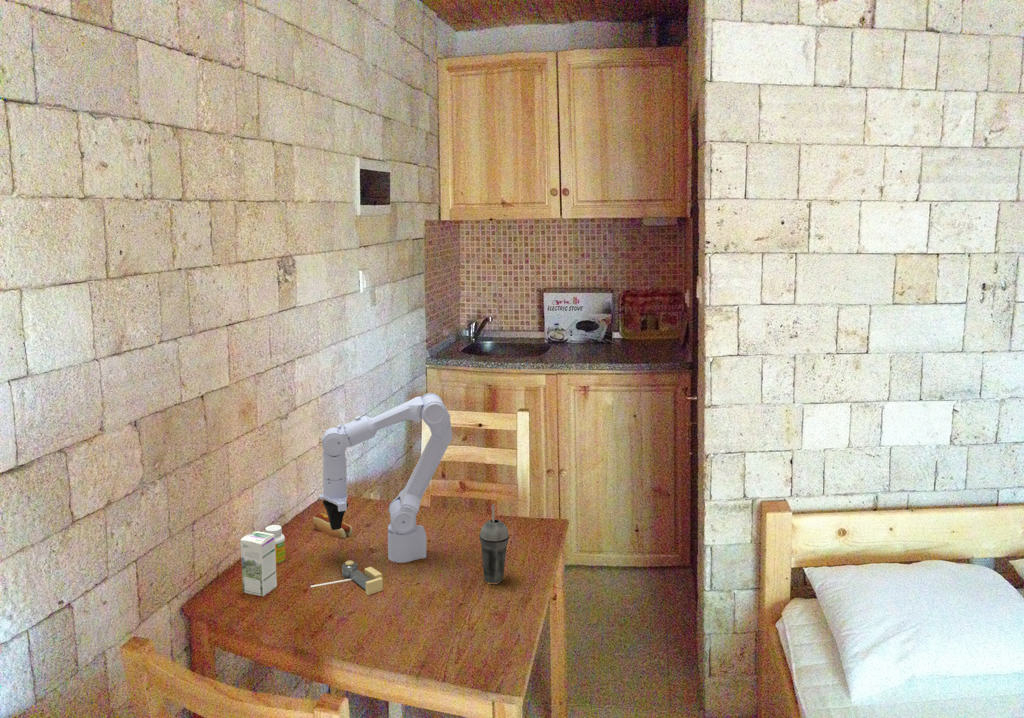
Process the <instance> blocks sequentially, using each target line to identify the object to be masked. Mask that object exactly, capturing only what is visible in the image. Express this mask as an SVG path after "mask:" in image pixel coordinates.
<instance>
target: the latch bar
mask: <svg viewBox="0 0 1024 718" xmlns="http://www.w3.org/2000/svg"><path fill="white" fill-rule="evenodd" d="M341 573H342V574H341V576H342V577H343V578H344V579H345V578H346V579H353V580H352V581H353V582H354V583H356V584H358V585H359V586H360V587H361V588H363V589H364V590H365V591H366V582H367V581H370V580H371V579H370V578H368V577H367V576H366V575H364V572H362V571H360V570H359V569H358V563H357V562H355V561H354V565H352V566H346V565H345V562H343V563H342V564H341Z"/></svg>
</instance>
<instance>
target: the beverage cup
mask: <svg viewBox="0 0 1024 718" xmlns="http://www.w3.org/2000/svg"><path fill="white" fill-rule="evenodd" d="M491 514H492V515H491V517H492V518H491V519H489V520H488V521H486V522H485V523H484V524H483V525H482V526H481V528H480V532H479V540H480V545H481V555H482V557H481V559H482V569H483V581H484V580H485V581H486V582H489V583H499V582H501V581H502V580H503V579H504V573H505V564H506V556H507V548H508V544H509V539H510V534H509V528H508V527H507V525H506V524H505V523H504V522H503V521H501V520H499V519H495V504H491ZM485 581H484V582H485ZM502 582H503V581H502Z"/></svg>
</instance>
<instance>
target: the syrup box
mask: <svg viewBox="0 0 1024 718" xmlns="http://www.w3.org/2000/svg"><path fill="white" fill-rule="evenodd" d="M240 557H241V559H240V560H241V577H242V592H243V593H245V594H249V595H255V596H258V597H265V596H266V595H267V594H268V593H270V592H271V591H273V590H274V589H276V588H277V586H278V583H277V581H278V580H277V564H276V554H275V535H274V534H270V533H265V531H257V530H253V531H252V532H249V533H248V534H246V535H245V536H243V537H241V538H240Z"/></svg>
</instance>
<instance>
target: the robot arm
mask: <svg viewBox="0 0 1024 718" xmlns="http://www.w3.org/2000/svg"><path fill="white" fill-rule="evenodd" d="M421 419H422V420H423V422H424V423H425V424H426V426H427V427H428V428H429V430H430V433H431V434H430V437H429V438H428V441H427V443H426V445H425V447H424V449H423V451H422V453H421V455H420V456H419V459H418V461H417V463H416V464H415V466H414V469H412V470H413V471H412V473H411V475H410V477H409V479H408V481H407V482H406V484H405V486H404V488H403V489H402V490H401V491H400V492H399V494H398V495H397V497H396V498H394V499H393V500H391V502H390V503H389V506H388V514H389V516H390V518H389V519H390V523H388V526H387V554H388V555H387V558H388V560H389V561H390V562H394V563H398V564H399V563H401V564H405V563H409V562H412V561H416V560H417V561H418V560H420V559H421V560H422V559H426V558H427V534H426V530H425V526H423V525H421V524H420V525H419V524H417V515H418V513H419V510H420V506H421V502H422V499H423V496H424V494H425V492H426V491H427V488H428V487H429V484H430V482H431V480H432V479H433V476H434V474H435V473H436V471H437V469H438V467H439V464H440V463H441V461H442V460H443V459H442V458H443V457H444V455H445V453H446V451H447V449H448V447H449V445H450V443H451V441H452V438H453V430H452V424H451V414H450V412H449V411H448V409H447V407H446V405H445V403H444V401H443V399H442V397H441V396H440V395H439V394H437V393H434V392H428V393H425V394H423V395H420V396H416V397H414V398H412V399H410V400H408V401H406V402H404V403H403V402H402V403H401V404H399V405H397V406H395V407H393V408H390V409H389V410H387V411H384V412H382V413H381V414H379V415H376V416H375V417H370V416H367V415H364V416H361V414H359V415H357V416H356V417H355V419H354V420H352V421H350V422H347V423H345V424H341V423H340V424H338V425H336V426H337V427H330V428H328V429H327V430H325V431H324V433H323V435H322V437H321V446H322V447H321V448H322V449H323V451H322V457H323V458H322V481H323V482H322V484H323V485H322V487H323V491H322V493H321V494H318V499H319V500H321V501H322V504H323V506H324V508H325V510H326V513H327V516H328V518H329V522H330V526H331V529H332V530H337V529H341V525H342V522H343V520H344V515H345V513H346V511H347V510H348V507H349V502H348V497H349V495H348V483H347V481H348V480H347V479H348V477H347V476H348V475H347V473H348V472H347V457H346V450H347V449H348V448H352V447H354V446H356V445H357V446H358V445H360V444H361V443H364V442H366V441H369V440H371V439H373V438H375V436H376V434H377V432H378V431H379V430H382V429H385V428H387V427H390V426H393V425H396V424H399V423H402V422H404V421H407V420H409V421H412V422H416V423H421Z"/></svg>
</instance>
